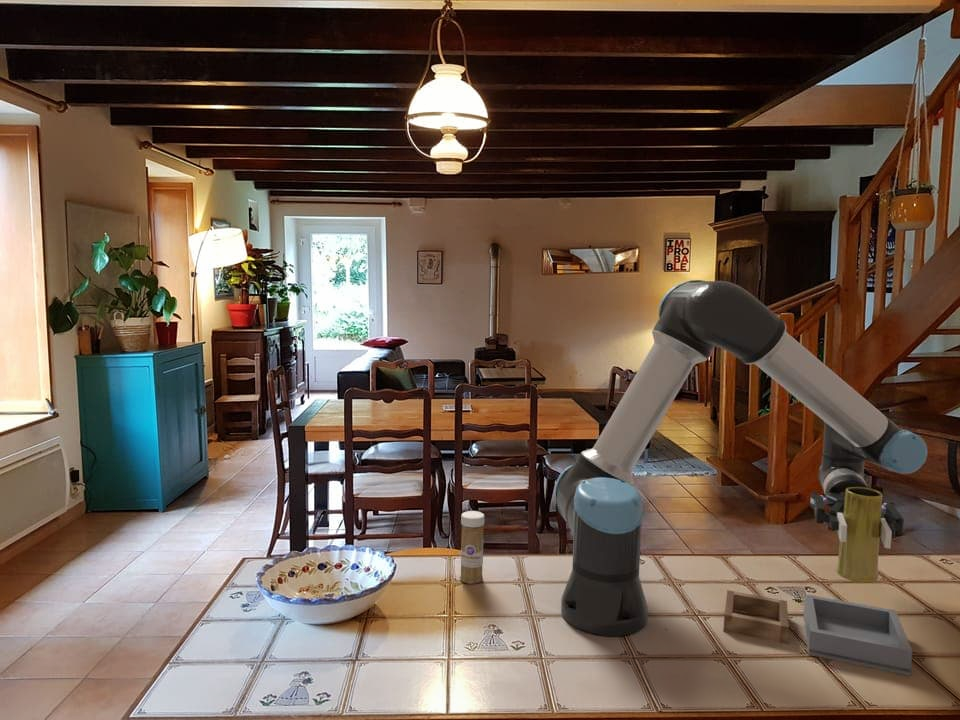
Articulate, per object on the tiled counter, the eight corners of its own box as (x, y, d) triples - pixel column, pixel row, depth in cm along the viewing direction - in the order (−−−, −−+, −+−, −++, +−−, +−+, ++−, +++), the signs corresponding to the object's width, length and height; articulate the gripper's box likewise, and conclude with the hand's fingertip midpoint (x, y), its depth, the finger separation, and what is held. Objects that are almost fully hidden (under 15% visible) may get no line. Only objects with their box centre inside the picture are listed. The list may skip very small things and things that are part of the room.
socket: (723, 631, 114) (724, 614, 114) (726, 605, 123) (727, 590, 123) (787, 644, 110) (788, 627, 110) (785, 616, 120) (786, 601, 119)
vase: (876, 572, 112) (883, 489, 110) (880, 586, 106) (888, 499, 104) (835, 564, 114) (841, 483, 113) (836, 578, 109) (843, 493, 107)
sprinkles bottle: (460, 585, 130) (461, 518, 128) (459, 574, 134) (460, 510, 133) (484, 584, 130) (485, 518, 129) (482, 574, 135) (483, 510, 133)
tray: (808, 654, 107) (810, 631, 107) (803, 615, 120) (805, 594, 120) (909, 675, 102) (912, 651, 102) (893, 632, 115) (895, 610, 114)
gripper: (902, 520, 123) (933, 570, 101) (792, 506, 130) (799, 550, 108) (906, 480, 122) (937, 522, 100) (794, 468, 129) (802, 505, 107)
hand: (865, 536), depth 104 cm, fingers closed on vase, 5 cm apart
